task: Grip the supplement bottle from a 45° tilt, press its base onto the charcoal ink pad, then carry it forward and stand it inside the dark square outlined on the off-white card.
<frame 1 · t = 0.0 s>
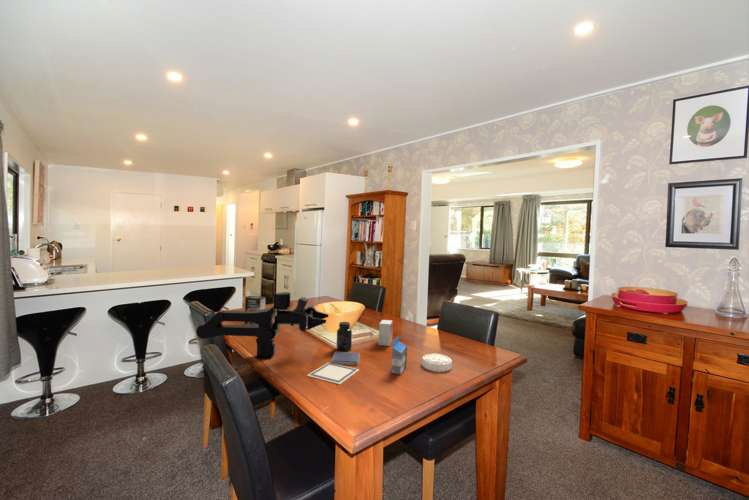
hand: (327, 318, 138), 17 cm above the table, tool horizontal, fingers open, 9 cm apart
mooncake: (436, 366, 133), on the table
ink pad: (346, 359, 136), on the table
coffee box: (254, 326, 182), on the table
small box: (385, 343, 159), on the table
label tape cartridge: (398, 370, 128), on the table
marked card: (333, 373, 123), on the table
supplement bottle: (343, 349, 149), on the table
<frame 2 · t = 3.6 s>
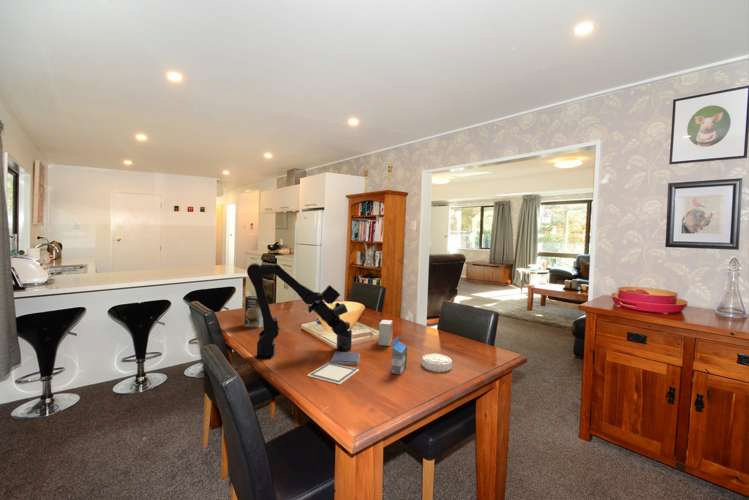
hand: (347, 334, 149), 7 cm above the table, tool tilted 45°, fingers closed on supplement bottle, 7 cm apart
supplement bottle: (343, 349, 149), on the table, touching gripper
everything else where it was.
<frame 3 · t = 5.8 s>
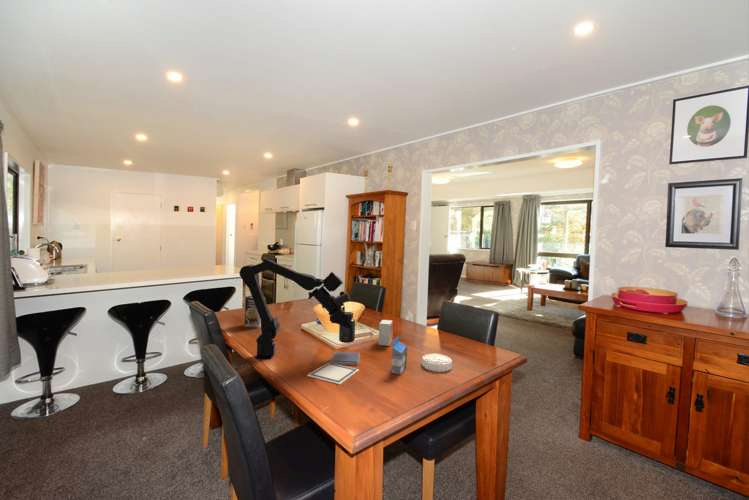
hand: (350, 325, 140), 13 cm above the table, tool tilted 45°, fingers closed on supplement bottle, 7 cm apart
supplement bottle: (346, 341, 140), point 6 cm above the table, touching gripper
everything else where it was.
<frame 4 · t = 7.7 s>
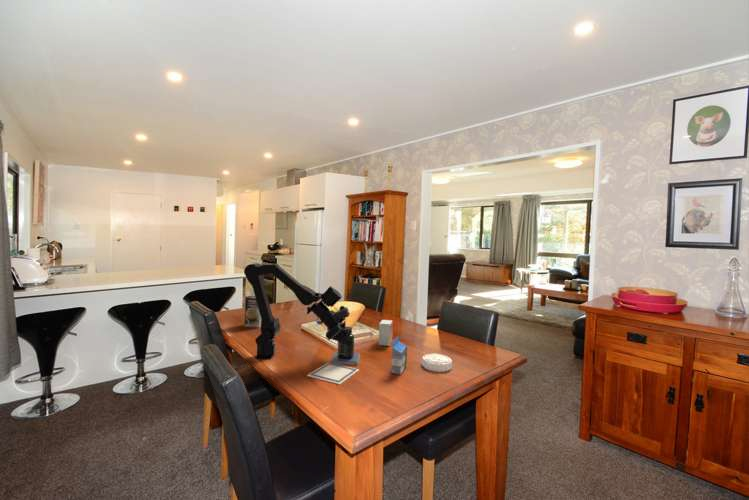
hand: (350, 341, 136), 8 cm above the table, tool tilted 45°, fingers closed on supplement bottle, 7 cm apart
supplement bottle: (345, 356, 136), point 1 cm above the table, touching gripper, ink pad
everything else where it was.
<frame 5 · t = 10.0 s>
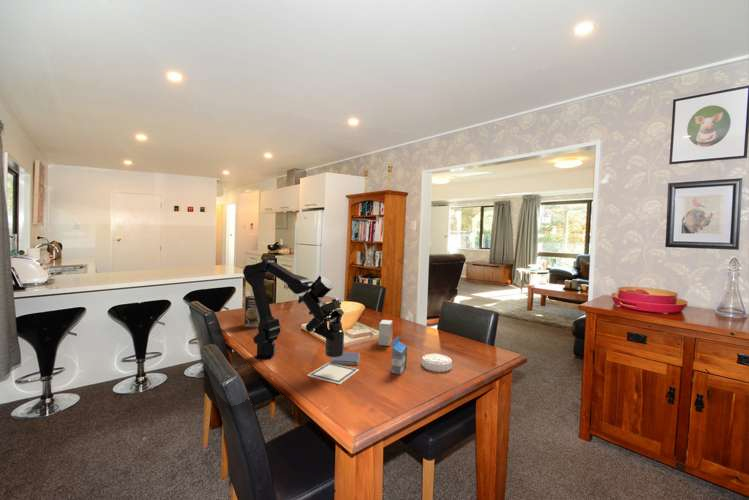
hand: (338, 338, 122), 13 cm above the table, tool tilted 45°, fingers closed on supplement bottle, 7 cm apart
supplement bottle: (333, 355, 123), point 7 cm above the table, touching gripper
everything else where it was.
when the fingers open (8 cm above the table, at t = 11.9 s): supplement bottle stays where it is, resting on marked card.
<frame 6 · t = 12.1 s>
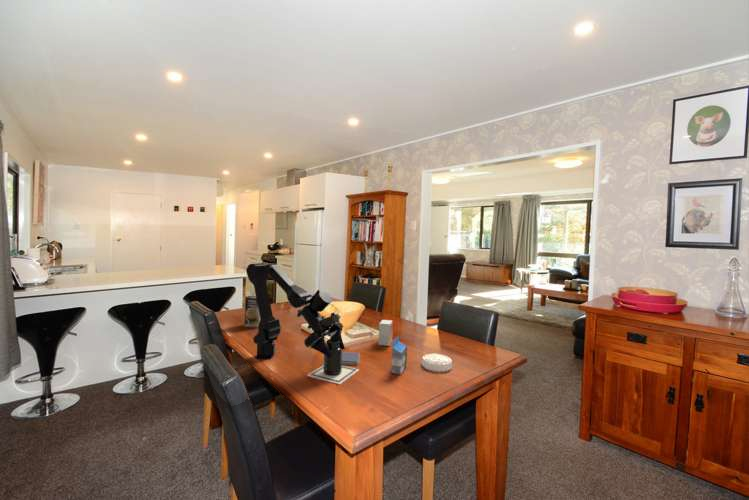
hand: (337, 352, 122), 8 cm above the table, tool tilted 45°, fingers open, 9 cm apart
supplement bottle: (332, 372, 122), resting on marked card
everything else where it was.
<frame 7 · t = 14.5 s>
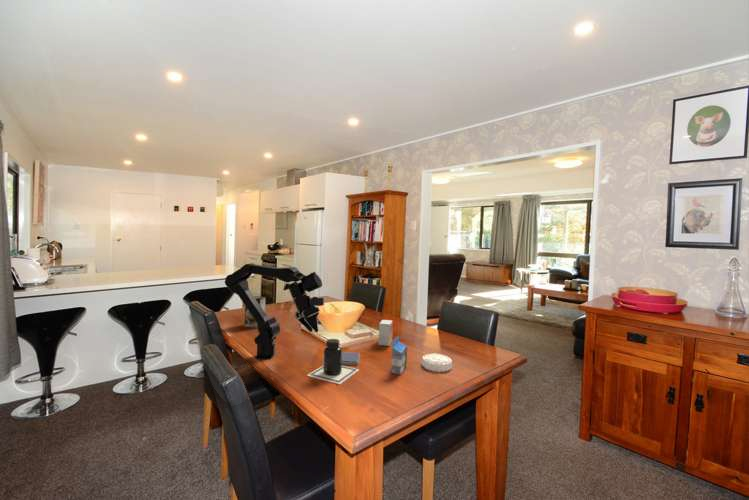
hand: (314, 331, 133), 12 cm above the table, tool tilted 25°, fingers open, 9 cm apart
nothing on the table moved.
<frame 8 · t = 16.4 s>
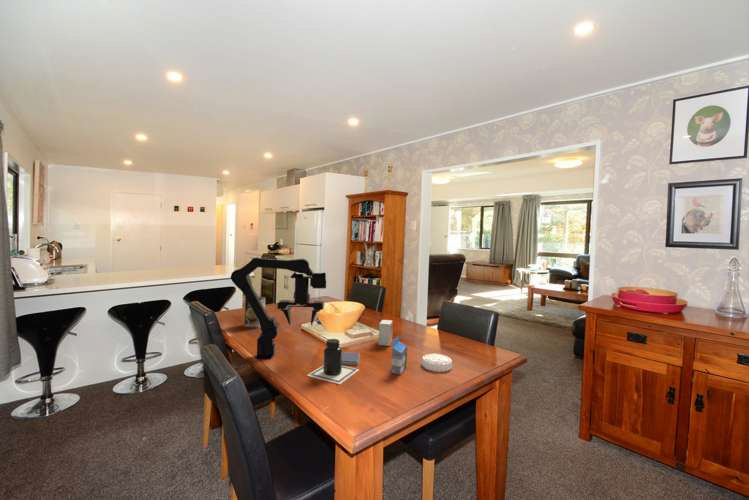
hand: (300, 324, 139), 13 cm above the table, tool pointing down, fingers open, 9 cm apart
nothing on the table moved.
at the end: supplement bottle 0.6 cm off-centre on the marked card, point 0.1 cm above the marked card's base; supplement bottle tilted 0°; the gripper is holding nothing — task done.
